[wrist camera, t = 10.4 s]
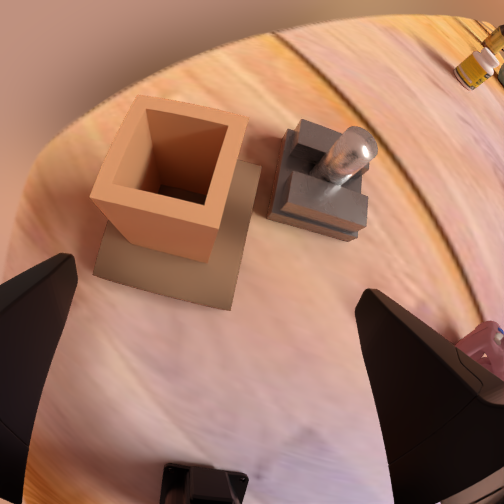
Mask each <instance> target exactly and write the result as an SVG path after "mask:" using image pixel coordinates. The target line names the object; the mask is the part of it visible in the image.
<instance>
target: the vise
mask: <svg viewBox="0 0 504 504" xmlns="http://www.w3.org/2000/svg"><path fill="white" fill-rule="evenodd" d="M377 152H378V147H377V143H376V141H375V139H374V138H373V136H372V135H371V134H370V133H369V132H368V131H366V130H365V129H363V128H361V127H357V126H352V127H349V128H348V129H347V130H346V131H345V132H344V133H343V134H341V133H339V132H336V131H334V130H331V129H329V128H326V127H323V126H321V125H318V124H315V123H312V122H309V121H307V120H304V119H301V120H300V122H299V124H298V125H297V127H296V129H295V130H294V131H293V130H290V129H287V131H286V133H285V135H284V136H283V138H282V143H281V148H280V154H279V159H278V164H277V169H276V174H275V179H274V184H273V189H272V194H271V199H270V204H269V209H268V214H267V219H269V220H273V221H277V222H280V223H284V224H287V225H291V226H295V227H298V228H302V229H305V230H309V231H312V232H316V233H319V234H323V235H326V236H330V237H333V238H337V239H340V240H343V241H347V242H349V241H351V240H354V239H356V238H358V231H359V230H361V229H363V228H365V227H366V224H367V208H368V196H365V195H363V194H361V182H362V175H363V174H364V173H365V172H366V171H368V170H369V162H370V161H371V160H372V159H373V158H374V157H375V156H376V155H377Z"/></svg>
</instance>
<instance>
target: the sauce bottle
mask: <svg viewBox="0 0 504 504" xmlns="http://www.w3.org/2000/svg"><path fill="white" fill-rule="evenodd" d="M483 46H484V47H486V48H488V49H489V50H490V51H491V52H492V54H493V55H495V54H497V53H498V52H499V51H500V50H501V49H503V48H504V25H501V26H499V27H498V28H497V29H496V30H494V31H493V32H492V33H491V34H490V35H489V36H488V37H487V38H486V39H485V40H484V41H483Z"/></svg>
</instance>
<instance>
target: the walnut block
mask: <svg viewBox="0 0 504 504" xmlns="http://www.w3.org/2000/svg"><path fill="white" fill-rule="evenodd" d="M261 169H262V166H259V165H256V164H252V163H248V162H245V161H241V160H237V162H236V166H235V169H234V173H233V177H232V180H231V184H230V188H229V192H228V195H227V199H226V203H225V207H224V211H223V215H222V218H221V222H220V226H219V230H218V233H217V236H216V239H215V242H214V245H213V248H212V251H211V254H210V257H209V261H208V263H203V262H199V261H195V260H191V259H187V258H184V257H180V256H176V255H172V254H168V253H164V252H160V251H156V250H152V249H148V248H145V247H141V246H137V245H133V244H131V243H130V242H129V241H128V240H127V239H126V238H125V237H124V236H123V235H122V234H121V233H120V232H119V230H118V229H117V228H116V227H115V226H114V225H113V224H112V223H111V222H110V221H109V219H108V222H107V225H106V228H105V232H104V235H103V238H102V242H101V245H100V249H99V252H98V256H97V259H96V263H95V267H94V271H93V275H94V276H97V277H100V278H103V279H106V280H109V281H113V282H116V283H120V284H123V285H127V286H130V287H134V288H137V289H141V290H145V291H148V292H152V293H156V294H160V295H164V296H168V297H172V298H176V299H180V300H184V301H188V302H192V303H196V304H200V305H205V306H209V307H213V308H218V309H222V310H228V311H231V306H232V301H233V297H234V292H235V287H236V283H237V278H238V273H239V269H240V264H241V259H242V255H243V250H244V246H245V241H246V236H247V232H248V227H249V223H250V218H251V214H252V209H253V204H254V200H255V195H256V191H257V186H258V182H259V177H260V173H261ZM158 194H159V195H163V196H168V197H172V198H176V199H180V200H184V201H188V202H192V203H196V204H200V205H205V201H206V198H207V195H203V194H199V193H195V192H191V191H187V190H183V189H179V188H175V187H170V186H166V185H162V184H161V185H160V188H159V191H158Z"/></svg>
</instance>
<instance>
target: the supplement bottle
mask: <svg viewBox="0 0 504 504" xmlns="http://www.w3.org/2000/svg"><path fill="white" fill-rule="evenodd" d="M498 65H499V62H498V60H497V59H496V57H495V56H494V55H493V54H492V52H491V51H490V50H489V49H488V48H486V47H484V48H483V49H482V50H481V53H479V52H478V51H474V52H473V53H472V54H471V55H470V56H469V57H467V58H466V59H465V60H464V61H463V62H462V63H461V64H459V65H458V66H457V67H456V68H455V69H454V73H455V75H456V77H457V78H458V80H459V81H460V82H461V83H462V85H463V86H464V87H465V88H466V89H468V90H470V91H473V90H474V89H475V88H477V87H478V86H479V85H480V84H482V83H483V82H484V81H485V80H487V79H488V78H489V77H491V76H492V75H493V73H494V70H493V68H496V67H497V66H498Z"/></svg>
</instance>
